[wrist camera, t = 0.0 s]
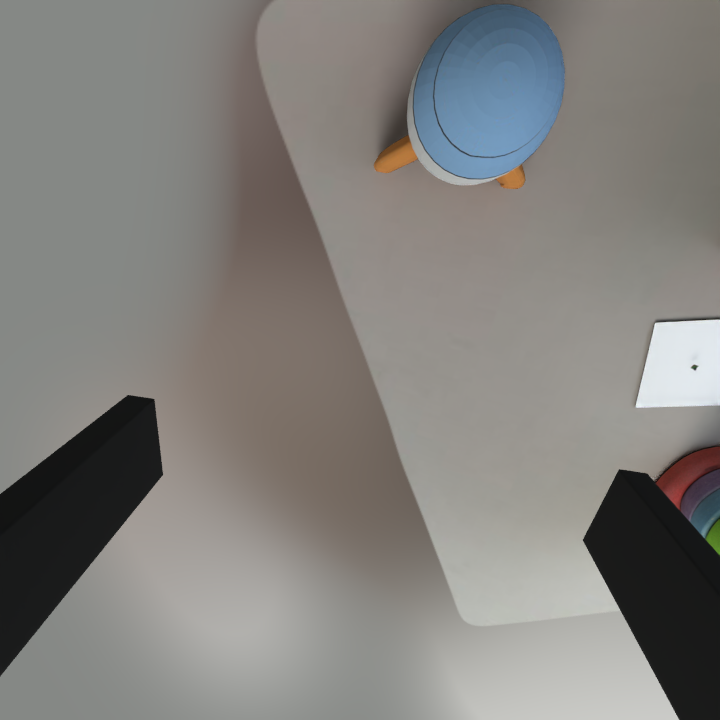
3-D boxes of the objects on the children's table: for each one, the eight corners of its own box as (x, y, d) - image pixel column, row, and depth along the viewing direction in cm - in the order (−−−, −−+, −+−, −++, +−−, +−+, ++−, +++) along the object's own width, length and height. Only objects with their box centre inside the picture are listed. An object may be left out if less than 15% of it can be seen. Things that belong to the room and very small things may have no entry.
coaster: (733, 404, 34) (740, 409, 33) (635, 407, 34) (640, 412, 34) (764, 317, 30) (773, 320, 30) (655, 322, 31) (661, 325, 30)
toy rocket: (537, 171, 28) (599, 234, 16) (401, 220, 32) (371, 299, 20) (512, -2, 24) (575, -91, 12) (355, 80, 27) (280, 77, 15)
